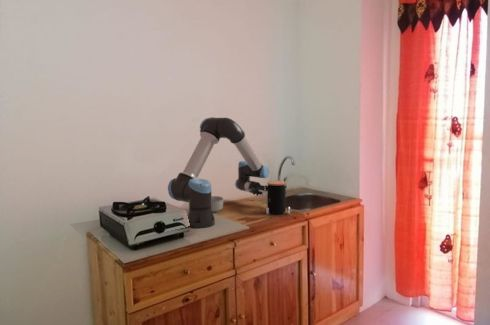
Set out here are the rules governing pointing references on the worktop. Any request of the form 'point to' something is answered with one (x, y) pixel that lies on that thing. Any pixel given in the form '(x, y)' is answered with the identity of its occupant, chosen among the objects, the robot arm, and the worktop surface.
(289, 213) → the pin ring
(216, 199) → the teacup
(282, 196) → the coffee jar
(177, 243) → the worktop surface
